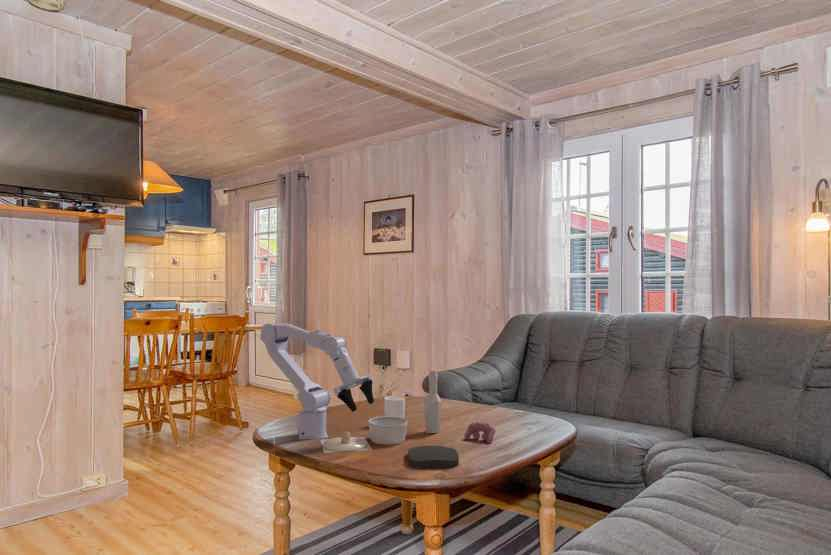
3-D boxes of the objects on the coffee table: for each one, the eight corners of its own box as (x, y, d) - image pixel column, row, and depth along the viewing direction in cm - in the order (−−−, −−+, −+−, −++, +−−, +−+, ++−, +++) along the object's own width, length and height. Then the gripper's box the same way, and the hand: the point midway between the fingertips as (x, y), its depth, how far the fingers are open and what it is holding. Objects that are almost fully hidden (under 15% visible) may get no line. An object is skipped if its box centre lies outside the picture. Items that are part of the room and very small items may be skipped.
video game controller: (494, 446, 189) (498, 425, 192) (489, 443, 186) (493, 422, 189) (467, 442, 194) (471, 422, 197) (462, 438, 191) (466, 418, 194)
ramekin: (399, 448, 180) (399, 427, 180) (361, 444, 184) (361, 423, 185) (412, 438, 193) (413, 418, 193) (377, 434, 197) (377, 414, 197)
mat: (324, 454, 173) (324, 452, 173) (319, 440, 188) (319, 439, 188) (372, 451, 177) (372, 449, 177) (364, 438, 192) (364, 437, 192)
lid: (325, 452, 174) (325, 439, 174) (321, 440, 187) (321, 428, 187) (370, 449, 177) (370, 437, 177) (363, 438, 191) (363, 426, 191)
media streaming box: (409, 469, 161) (410, 459, 161) (407, 454, 175) (407, 444, 175) (460, 469, 162) (460, 458, 162) (453, 453, 176) (453, 444, 176)
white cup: (402, 428, 206) (402, 400, 206) (381, 426, 208) (381, 399, 208) (407, 423, 214) (407, 396, 214) (386, 421, 215) (387, 395, 215)
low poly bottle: (440, 435, 197) (440, 371, 197) (422, 433, 198) (422, 371, 199) (442, 430, 203) (443, 369, 204) (425, 429, 205) (426, 368, 205)
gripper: (334, 371, 181) (352, 410, 178) (368, 359, 191) (385, 395, 188) (324, 379, 186) (341, 417, 182) (357, 366, 196) (374, 402, 193)
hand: (363, 406), depth 186 cm, fingers open, 7 cm apart
